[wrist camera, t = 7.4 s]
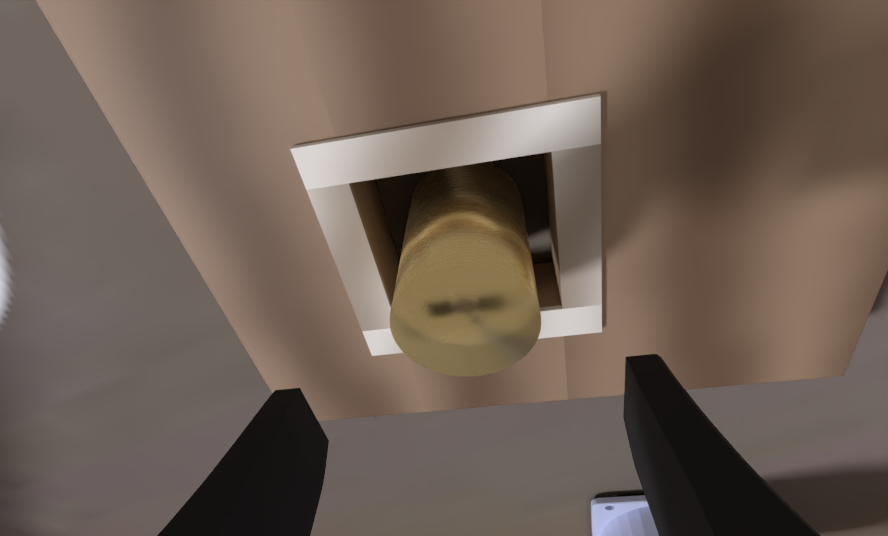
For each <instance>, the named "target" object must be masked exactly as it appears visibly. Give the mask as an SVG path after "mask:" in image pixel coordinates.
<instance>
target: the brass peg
mask: <svg viewBox="0 0 888 536" xmlns="http://www.w3.org/2000/svg"><path fill="white" fill-rule="evenodd" d="M390 330H391V333H392V336H393V338H394V340H395V342H396V344H397V345H398V347H399V348H400V349H401V350H402V351H403V353H404V354H405V355H406V356H408V357H409V358H410V359H411V360H413V361H414V362H416V363H417V364H419V365H421V366H423V367H425V368H427V369H429V370H432V371H434V372H438V373H441V374H446V375H451V376H461V377H471V376H481V375H487V374H491V373H495V372H498V371H501V370H504V369H506V368H508V367H510V366H512V365H514V364H515V363H517V362H518V361H520V360H521V359H522V358H523V357H525V356H526V355H527V354H528V353H529V352H530V351H531V349H532V348H533V346H534V345H535V343H536V341H537V339H538V337H539V334H540V331H541V313H540V307H539V301H538V295H537V288H536V282H535V276H534V270H533V264H532V258H531V252H530V246H529V240H528V233H527V227H526V221H525V215H524V209H523V203H522V198H521V194H520V191H519V189H518V186H517V185H516V183H515V181H514V180H513V179H512V178H511V176H510V175H509V174H507V173H506V172H505V171H504V170H503V169H501V168H500V167H498V166H496V165H494V164H492V163H490V162H482V163H476V164H470V165H463V166H457V167H450V168H444V169H438V170H431V171H428V172H427V173H426V174H425V175H424V176H423V177H422V178H421V179H420V181H419V182H418V183H417V185H416V187H415V189H414V192H413V194H412V199H411V204H410V209H409V214H408V220H407V225H406V231H405V236H404V241H403V247H402V252H401V258H400V263H399V268H398V274H397V279H396V285H395V290H394V295H393V301H392V306H391V311H390Z"/></svg>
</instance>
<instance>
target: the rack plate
mask: <svg viewBox="0 0 888 536" xmlns="http://www.w3.org/2000/svg"><path fill="white" fill-rule="evenodd" d="M36 2H37V3H38V5H39V6H40V8H41V10H42V11H43V13H44V15H45V16H46V18H47V20H48V21H49V23H50V25H51V26H52V28H53V30H54V31H55V33H56V35H57V36H58V38H59V40H60V41H61V43H62V45H63V46H64V48H65V50H66V51H67V53H68V55H69V56H70V58H71V60H72V61H73V63H74V65H75V66H76V68H77V70H78V71H79V73H80V75H81V76H82V78H83V80H84V81H85V83H86V84H87V86H88V88H89V89H90V91H91V93H92V94H93V96H94V98H95V99H96V101H97V103H98V104H99V106H100V108H101V109H102V111H103V113H104V114H105V116H106V118H107V119H108V121H109V123H110V124H111V126H112V128H113V129H114V131H115V133H116V134H117V136H118V138H119V139H120V141H121V143H122V144H123V146H124V148H125V149H126V151H127V153H128V154H129V156H130V158H131V159H132V161H133V162H134V164H135V166H136V167H137V169H138V171H139V172H140V174H141V176H142V177H143V179H144V181H145V182H146V184H147V186H148V187H149V189H150V191H151V192H152V194H153V196H154V197H155V199H156V201H157V202H158V204H159V206H160V207H161V209H162V211H163V212H164V214H165V216H166V217H167V219H168V221H169V222H170V224H171V226H172V227H173V229H174V231H175V232H176V234H177V236H178V237H179V239H180V240H181V242H182V244H183V245H184V247H185V249H186V250H187V252H188V254H189V255H190V257H191V259H192V260H193V262H194V264H195V265H196V267H197V269H198V270H199V272H200V274H201V275H202V277H203V279H204V280H205V282H206V284H207V285H208V287H209V289H210V290H211V292H212V294H213V295H214V297H215V299H216V300H217V302H218V304H219V305H220V307H221V309H222V310H223V312H224V314H225V315H226V317H227V318H228V320H229V322H230V323H231V325H232V327H233V328H234V330H235V332H236V333H237V335H238V337H239V338H240V340H241V342H242V343H243V345H244V347H245V348H246V350H247V352H248V353H249V355H250V357H251V358H252V360H253V362H254V363H255V365H256V367H257V368H258V370H259V372H260V373H261V375H262V377H263V378H264V380H265V382H266V383H267V385H268V387H269V388H270V390H271V392H272V393H273V392H274V391H275V390H282V389H293V388H300V389H301V391H302V393H303V395H304V396H305V398H306V400H307V402H308V404H309V406H310V407H311V409H312V411H313V413H314V415H315V417H316V418H317V420H318V421H323V420H334V419H346V418H358V417H369V416H381V415H393V414H404V413H416V412H428V411H439V410H451V409H463V408H474V407H486V406H498V405H509V404H521V403H533V402H544V401H556V400H568V399H579V398H591V397H603V396H614V395H624V390H625V360H626V357H628V356H639V355H649V354H657V355H659V356H660V357H662V359H663V360H664V362H665V363H666V365H667V366H668V368H669V369H670V370H671V372H672V373H673V374H674V376H675V377H676V379H677V380H678V381H679V383H680V384H681V385H682V386H683V388H684V389H696V388H708V387H720V386H731V385H743V384H755V383H766V382H778V381H790V380H801V379H813V378H825V377H836V376H844V373H845V371H846V369H847V366H848V364H849V361H850V359H851V357H852V354H853V352H854V350H855V347H856V345H857V342H858V340H859V338H860V335H861V333H862V330H863V328H864V326H865V323H866V321H867V318H868V316H869V314H870V311H871V309H872V306H873V304H874V302H875V299H876V297H877V295H878V292H879V290H880V287H881V285H882V283H883V280H884V278H885V275H886V273H887V271H888V0H36ZM540 153H544V162H545V175H546V188H547V200H548V213H549V226H550V239H551V252H552V262H546V263H538V264H533V270H534V276H535V282H536V288H537V295H538V301H539V307H540V313H541V331H540V334H539V337H538V339H537V341H536V343H535V345H534V346H533V348H532V349H531V351H530V352H529V353H528V354H527V355H526V356H525V357H523V358H522V359H521V360H520V361H518V362H517V363H515V364H514V365H512V366H510V367H508V368H506V369H504V370H501V371H498V372H495V373H491V374H487V375H481V376H471V377H461V376H451V375H446V374H441V373H438V372H434V371H432V370H429V369H427V368H425V367H423V366H421V365H419V364H417V363H416V362H414V361H413V360H411V359H410V358H409V357H408V356H406V355H405V354H404V353H403V351H402V350H401V349H400V348H399V347H398V345H397V344H396V342H395V340H394V338H393V336H392V333H391V330H390V311H391V306H392V301H393V295H394V290H395V285H396V279H397V274H398V268H399V263H400V262H399V259H398V255H397V252H396V249H395V245H394V242H393V239H392V235H391V232H390V229H389V226H388V222H387V219H386V216H385V212H384V209H383V206H382V202H381V199H380V196H379V192H378V189H377V186H376V182H375V179H380V178H386V177H393V176H399V175H406V174H412V173H418V172H425V171H431V170H438V169H444V168H450V167H457V166H463V165H470V164H476V163H482V162H489V161H495V160H502V159H508V158H514V157H521V156H527V155H534V154H540Z"/></svg>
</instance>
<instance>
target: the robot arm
mask: <svg viewBox="0 0 888 536" xmlns="http://www.w3.org/2000/svg"><path fill="white" fill-rule="evenodd" d="M624 422H625V426H626V431H627V435H628V439H629V444H630V448H631V452H632V456H633V460H634V465H635V468H636V471H637V474H638V476H639V479H640V482H641V485H642V488H643V491H644V494H645V495H638V496H621V497H603V498H596V499H593V500H592V501H591V526H592V536H820V535H819V534H818V533H817V532H816V531H815V530H814V529H813V528H812V527H811V526H810V525H808V524H807V523H806V522H805V521H804V520H803V519H802V518H801V517H800V516H799V515H798V514H797V513H796V512H795V511H794V510H793V509H792V508H791V507H790V506H789V505H788V504H787V503H786V502H785V501H784V500H783V499H782V498H781V497H780V496H779V495H778V494H777V493H776V492H775V491H774V490H773V489H772V488H771V487H770V486H769V485H768V484H767V483H766V482H765V481H764V480H763V479H762V478H761V477H760V476H759V475H758V474H757V473H756V472H755V471H754V469H753V468H752V467H751V466H750V465H749V464H748V463H747V462H746V461H745V460H744V459H743V458H742V457H741V455H740V454H739V453H738V452H737V451H736V450H735V449H734V448H733V446H732V445H731V444H730V443H729V442H728V441H727V440H726V438H725V437H724V436H723V435H722V434H721V433H720V432H719V430H718V429H717V428H716V427H715V426H714V425H713V424H712V422H711V421H710V420H709V419H708V418H707V416H706V415H705V414H704V413H703V412H702V410H701V409H700V408H699V407H698V405H697V404H696V403H695V402H694V400H693V399H692V398H691V397H690V395H689V394H688V393H687V392H686V390H685V389H684V388H683V386H682V385H681V384H680V383H679V381H678V380H677V379H676V377H675V376H674V374H673V373H672V372H671V370H670V369H669V368H668V366H667V365H666V363H665V362H664V360H663V359H662V357H660V356H659V355H657V354H649V355H639V356H628V357H626V360H625V390H624ZM328 442H329V441H328V439H327V437H326V435H325V433H324V431H323V430H322V428H321V426H320V424H319V422H318V420H317V418H316V417H315V415H314V413H313V411H312V409H311V407H310V406H309V404H308V402H307V400H306V398H305V396H304V395H303V393H302V391H301V389H300V388H293V389H282V390H275V391H274V392H273V393H272V395H271V396H270V397H269V399H268V400H267V401H266V402H265V404H264V405H263V406H262V408H261V409H260V410H259V411H258V413H257V414H256V415H255V417H254V418H253V419H252V421H251V422H250V423H249V425H248V426H247V427H246V428H245V430H244V431H243V432H242V434H241V435H240V436H239V438H238V439H237V440H236V442H235V443H234V444H233V445H232V447H231V448H230V449H229V451H228V452H227V453H226V454H225V456H224V457H223V458H222V459H221V461H220V462H219V463H218V465H217V466H216V467H215V468H214V470H213V471H212V472H211V473H210V475H209V476H208V477H207V478H206V480H205V481H204V482H203V483H202V485H201V486H200V487H199V488H198V489H197V490H196V492H195V493H194V494H193V495H192V496H191V498H190V499H189V500H188V501H187V502H186V503H185V505H184V506H183V507H182V508H181V509H180V511H179V512H178V513H177V514H176V515H175V516H174V518H173V519H172V520H171V521H170V522H169V523H168V524H167V526H166V527H165V528H164V529H163V530H162V531H161V532H160V533H159V534H158V536H310V534H311V530H312V526H313V522H314V518H315V514H316V510H317V506H318V503H319V499H320V495H321V490H322V486H323V480H324V474H325V467H326V459H327V451H328Z"/></svg>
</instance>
